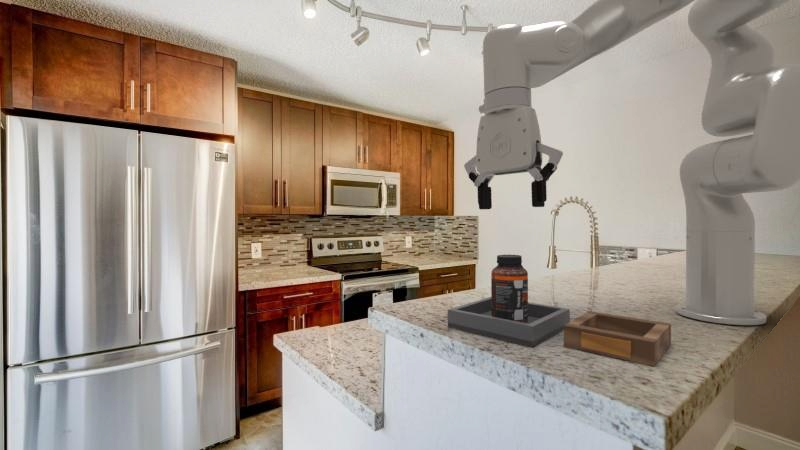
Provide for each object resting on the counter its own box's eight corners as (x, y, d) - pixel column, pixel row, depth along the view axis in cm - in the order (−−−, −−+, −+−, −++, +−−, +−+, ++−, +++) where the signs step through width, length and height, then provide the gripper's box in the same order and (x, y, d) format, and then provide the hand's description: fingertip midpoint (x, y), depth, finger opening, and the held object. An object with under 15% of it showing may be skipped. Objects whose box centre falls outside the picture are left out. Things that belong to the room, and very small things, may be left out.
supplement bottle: (530, 328, 61) (530, 257, 61) (492, 326, 62) (491, 257, 62) (525, 318, 67) (525, 253, 67) (491, 316, 68) (490, 253, 68)
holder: (589, 329, 63) (589, 311, 63) (671, 344, 55) (671, 323, 55) (562, 346, 54) (562, 325, 54) (653, 367, 47) (653, 342, 47)
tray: (491, 311, 75) (491, 296, 75) (569, 326, 64) (569, 308, 64) (447, 327, 65) (447, 309, 65) (532, 347, 54) (532, 326, 54)
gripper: (452, 113, 67) (455, 210, 68) (549, 87, 55) (552, 206, 55) (475, 119, 73) (478, 209, 73) (569, 97, 60) (571, 205, 61)
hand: (510, 208), depth 64 cm, fingers open, 9 cm apart
